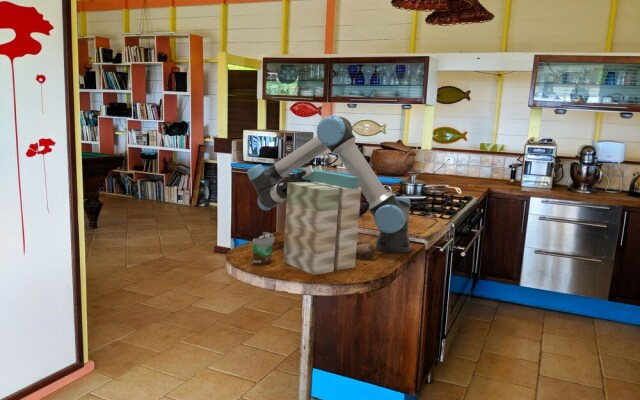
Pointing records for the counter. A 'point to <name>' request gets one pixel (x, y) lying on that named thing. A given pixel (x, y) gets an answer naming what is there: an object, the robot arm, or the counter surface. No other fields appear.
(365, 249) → the mushroom
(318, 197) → the block stand
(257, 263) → the food container
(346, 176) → the beam
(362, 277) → the counter surface
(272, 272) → the counter surface
